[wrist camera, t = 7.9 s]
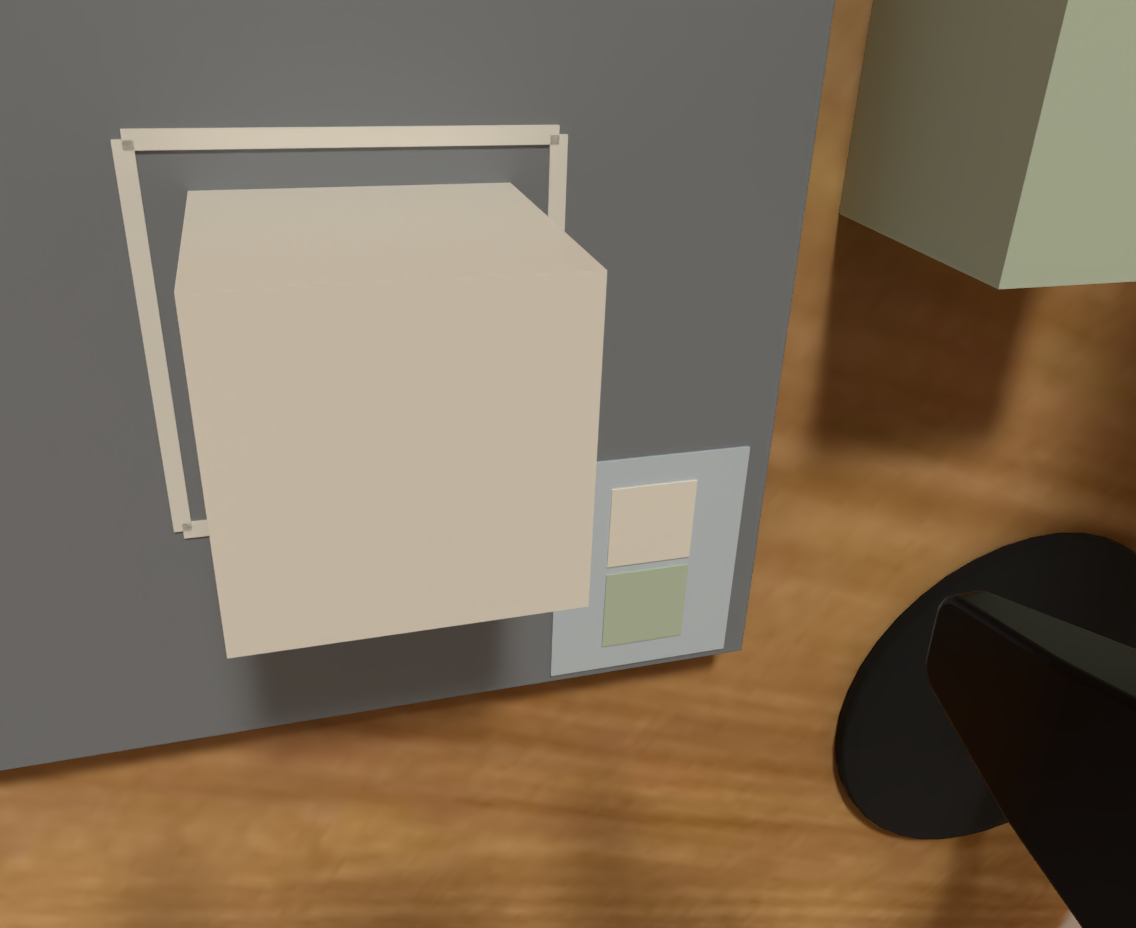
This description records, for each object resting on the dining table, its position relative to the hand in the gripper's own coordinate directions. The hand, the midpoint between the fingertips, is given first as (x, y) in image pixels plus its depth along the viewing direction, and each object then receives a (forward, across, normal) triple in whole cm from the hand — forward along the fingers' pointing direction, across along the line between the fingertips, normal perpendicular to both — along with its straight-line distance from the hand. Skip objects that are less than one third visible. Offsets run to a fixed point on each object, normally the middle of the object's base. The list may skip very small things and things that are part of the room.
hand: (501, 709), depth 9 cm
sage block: (+11, -12, -4) cm, 17 cm away
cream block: (+10, 0, 0) cm, 10 cm away
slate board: (+11, 0, 0) cm, 11 cm away
